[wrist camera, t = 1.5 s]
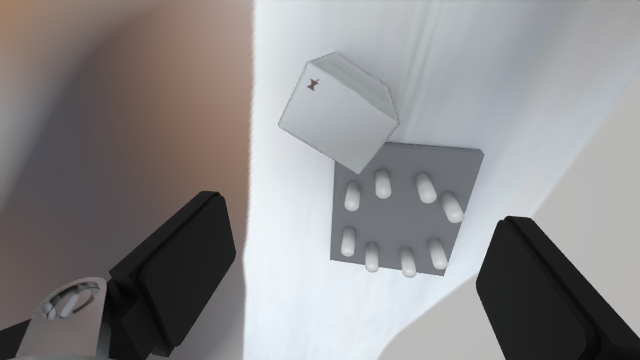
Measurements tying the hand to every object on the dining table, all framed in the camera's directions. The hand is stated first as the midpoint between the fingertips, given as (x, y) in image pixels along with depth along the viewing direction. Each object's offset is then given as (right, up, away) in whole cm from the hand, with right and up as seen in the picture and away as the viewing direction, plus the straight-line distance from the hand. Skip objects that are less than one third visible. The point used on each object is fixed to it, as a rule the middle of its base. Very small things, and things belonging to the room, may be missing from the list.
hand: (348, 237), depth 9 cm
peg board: (+8, -1, +21) cm, 22 cm away
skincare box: (+2, +11, +16) cm, 20 cm away
